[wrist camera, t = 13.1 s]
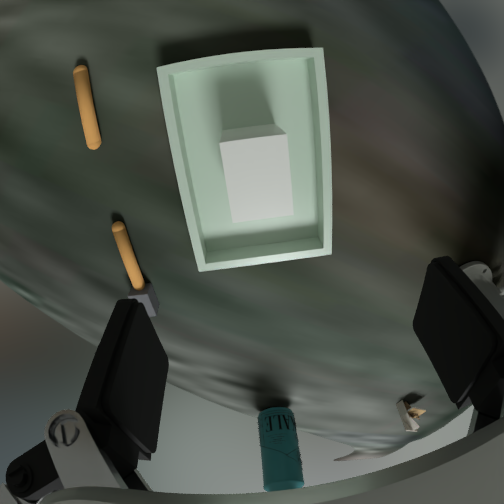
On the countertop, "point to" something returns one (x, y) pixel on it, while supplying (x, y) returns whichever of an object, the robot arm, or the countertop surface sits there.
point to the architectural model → (409, 415)
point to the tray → (244, 115)
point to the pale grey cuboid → (257, 172)
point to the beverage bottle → (279, 450)
